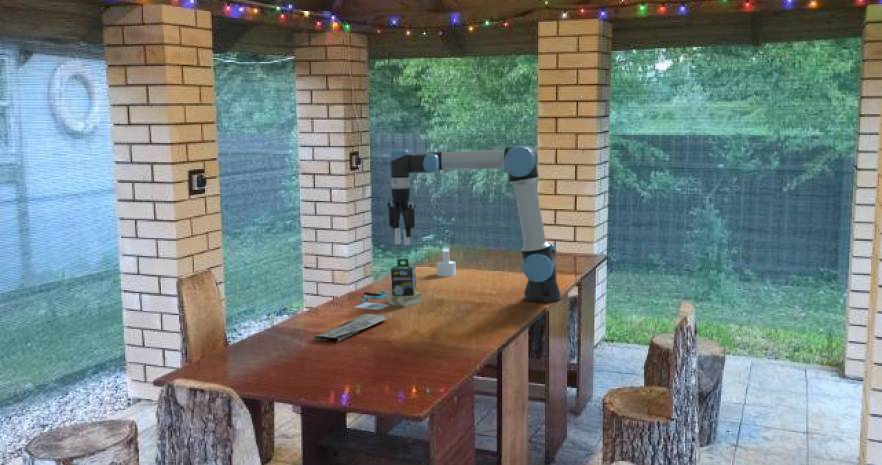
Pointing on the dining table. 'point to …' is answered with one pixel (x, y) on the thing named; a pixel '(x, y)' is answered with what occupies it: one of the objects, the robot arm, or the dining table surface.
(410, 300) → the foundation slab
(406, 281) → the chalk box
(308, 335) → the dining table surface
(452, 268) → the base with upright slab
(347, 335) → the newspaper
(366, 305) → the blueprint sheet
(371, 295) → the gear mechanism
